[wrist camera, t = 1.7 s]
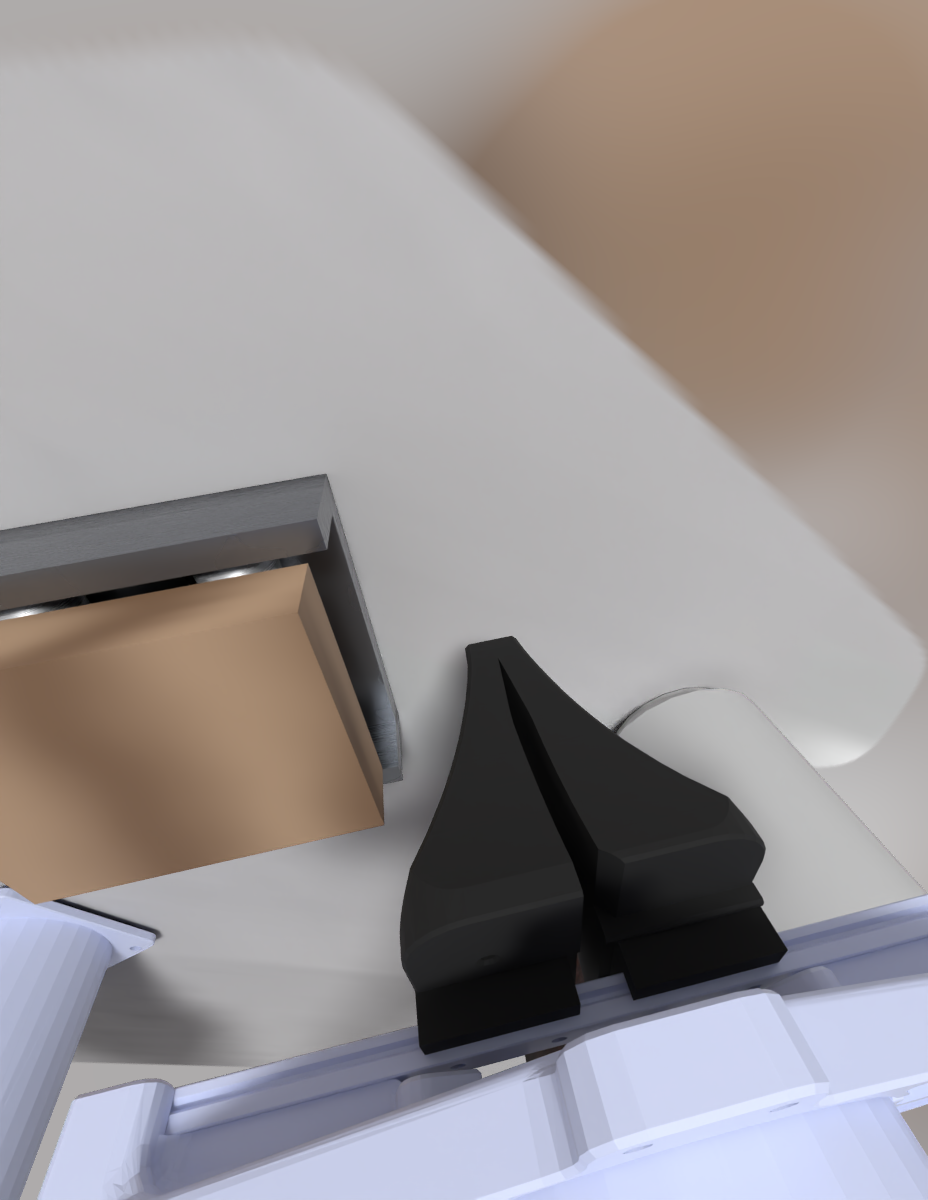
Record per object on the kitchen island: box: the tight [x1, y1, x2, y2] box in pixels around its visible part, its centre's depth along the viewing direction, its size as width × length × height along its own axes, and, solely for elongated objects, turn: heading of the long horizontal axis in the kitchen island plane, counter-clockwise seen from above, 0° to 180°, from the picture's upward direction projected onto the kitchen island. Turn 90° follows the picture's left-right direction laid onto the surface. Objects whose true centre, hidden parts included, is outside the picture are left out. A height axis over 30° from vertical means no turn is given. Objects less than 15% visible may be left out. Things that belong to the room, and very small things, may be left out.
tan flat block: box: [0, 563, 384, 904], centre depth 12 cm, size 10×8×2 cm
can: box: [616, 688, 928, 932], centre depth 18 cm, size 8×8×12 cm
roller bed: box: [0, 474, 403, 784], centre depth 13 cm, size 20×10×6 cm, turn 97°
